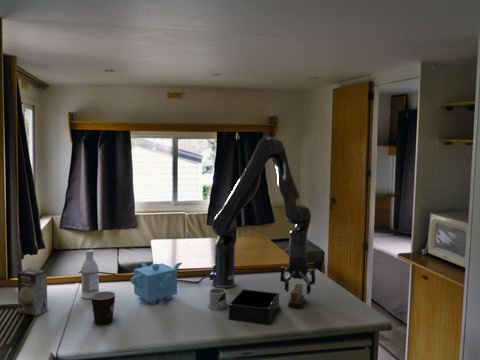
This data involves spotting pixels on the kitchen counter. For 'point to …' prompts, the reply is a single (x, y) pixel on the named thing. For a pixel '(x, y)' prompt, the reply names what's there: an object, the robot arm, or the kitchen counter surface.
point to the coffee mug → (103, 307)
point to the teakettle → (155, 281)
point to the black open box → (254, 306)
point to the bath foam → (89, 276)
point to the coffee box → (32, 291)
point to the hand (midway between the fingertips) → (297, 292)
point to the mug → (217, 298)
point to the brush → (297, 296)
